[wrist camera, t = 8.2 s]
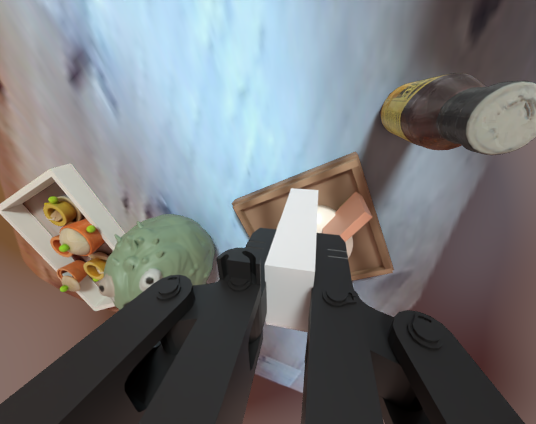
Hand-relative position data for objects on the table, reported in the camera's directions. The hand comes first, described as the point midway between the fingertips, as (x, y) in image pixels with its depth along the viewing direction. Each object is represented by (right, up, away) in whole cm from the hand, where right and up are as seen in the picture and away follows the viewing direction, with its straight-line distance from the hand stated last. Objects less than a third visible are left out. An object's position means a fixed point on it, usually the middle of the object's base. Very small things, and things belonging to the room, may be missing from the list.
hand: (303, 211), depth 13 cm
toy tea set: (-46, -8, +42) cm, 62 cm away
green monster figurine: (-18, -5, +34) cm, 39 cm away
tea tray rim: (-46, -8, +42) cm, 62 cm away
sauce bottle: (+16, +14, +17) cm, 28 cm away
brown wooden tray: (+6, -4, +28) cm, 29 cm away
